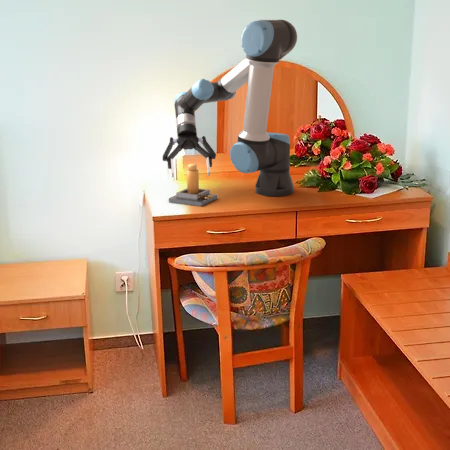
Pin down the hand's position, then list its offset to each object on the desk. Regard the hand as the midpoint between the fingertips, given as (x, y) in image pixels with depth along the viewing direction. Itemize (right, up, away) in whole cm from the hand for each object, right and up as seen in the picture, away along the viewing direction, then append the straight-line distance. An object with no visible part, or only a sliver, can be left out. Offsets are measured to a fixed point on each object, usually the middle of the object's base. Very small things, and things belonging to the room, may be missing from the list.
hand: (191, 174), depth 249 cm
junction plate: (+1, -10, 0) cm, 10 cm away
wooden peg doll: (+1, -8, -1) cm, 8 cm away
